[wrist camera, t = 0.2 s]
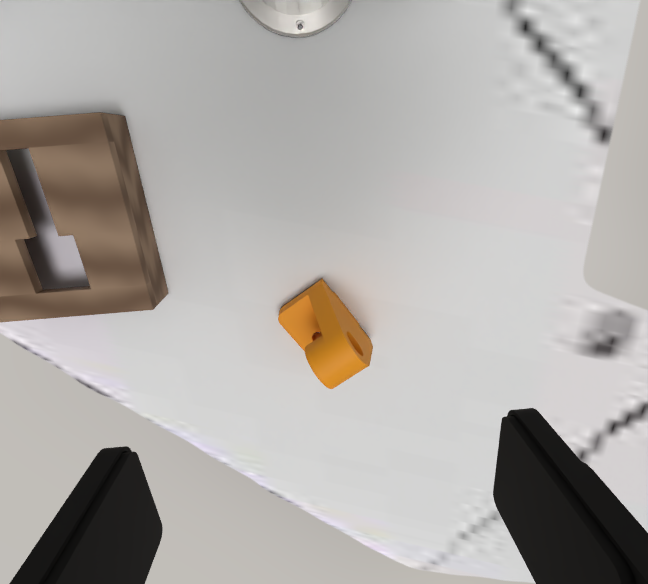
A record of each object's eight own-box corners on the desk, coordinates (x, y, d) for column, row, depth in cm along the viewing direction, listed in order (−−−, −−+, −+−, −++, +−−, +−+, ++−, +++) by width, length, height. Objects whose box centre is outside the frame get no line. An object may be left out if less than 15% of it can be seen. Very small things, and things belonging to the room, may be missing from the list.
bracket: (276, 308, 48) (267, 358, 37) (321, 276, 47) (326, 318, 35) (326, 365, 51) (331, 426, 40) (369, 337, 50) (387, 392, 39)
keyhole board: (-49, 129, 39) (-97, 127, 34) (124, 116, 39) (100, 112, 34) (23, 304, 46) (-9, 323, 42) (168, 293, 46) (152, 309, 42)
